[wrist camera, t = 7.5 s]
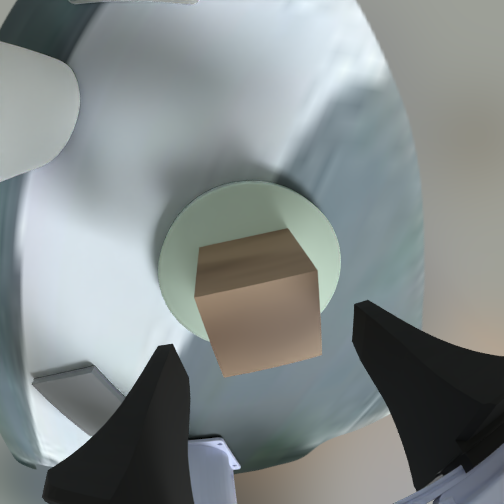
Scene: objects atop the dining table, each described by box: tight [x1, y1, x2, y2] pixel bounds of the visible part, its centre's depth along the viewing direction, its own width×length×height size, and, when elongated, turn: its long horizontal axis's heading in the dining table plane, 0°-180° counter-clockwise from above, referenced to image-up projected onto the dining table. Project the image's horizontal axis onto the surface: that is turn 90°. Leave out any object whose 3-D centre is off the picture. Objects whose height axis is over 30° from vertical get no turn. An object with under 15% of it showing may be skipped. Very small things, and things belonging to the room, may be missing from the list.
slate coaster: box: [32, 366, 125, 436], centre depth 20 cm, size 9×9×1 cm
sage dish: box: [158, 180, 341, 342], centre depth 15 cm, size 10×10×1 cm
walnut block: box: [194, 228, 322, 377], centre depth 13 cm, size 4×4×4 cm
